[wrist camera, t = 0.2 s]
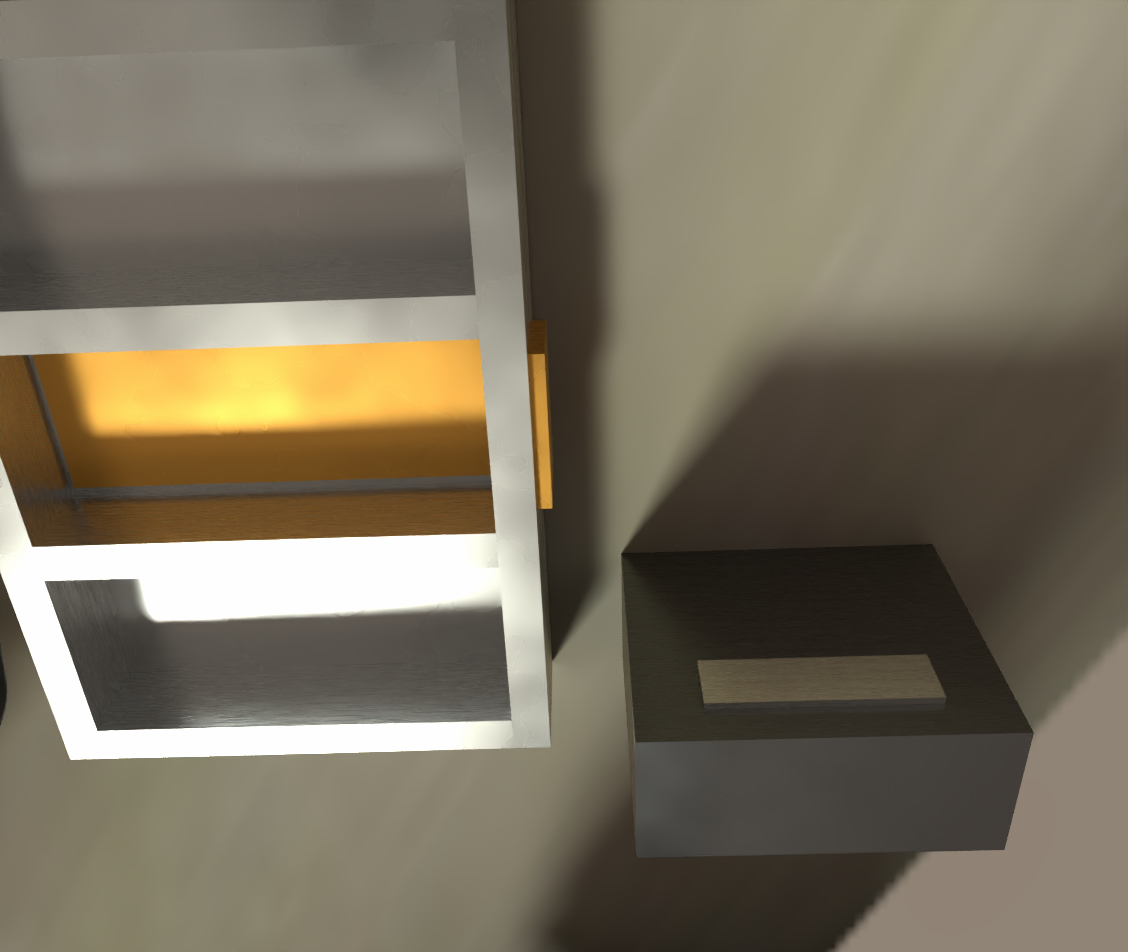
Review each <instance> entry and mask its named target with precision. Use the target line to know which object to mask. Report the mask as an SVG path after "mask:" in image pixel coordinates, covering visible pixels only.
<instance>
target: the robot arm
mask: <svg viewBox="0 0 1128 952" xmlns="http://www.w3.org/2000/svg"><path fill="white" fill-rule="evenodd" d="M6 703H7V682H6V676H5V669H4V663H3V657H2V651H1V644H0V725H1V722H2V720H3V716H4V713H5V709H6Z"/></svg>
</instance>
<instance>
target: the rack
mask: <svg viewBox="0 0 1128 952" xmlns="http://www.w3.org/2000/svg"><path fill="white" fill-rule="evenodd" d="M553 468H554V467H553V447H552V427H551V406H550V386H549V366H548V346H547V326H546V320H533V311H532V293H531V276H530V258H529V240H528V222H527V205H526V187H525V169H524V152H523V134H522V116H521V98H520V81H519V63H518V45H517V28H516V10H515V0H0V573H1V575H2V578H3V581H4V583H5V586H6V589H7V591H8V594H9V597H10V599H11V602H12V605H13V607H14V610H15V613H16V615H17V618H18V621H19V623H20V626H21V629H22V631H23V634H24V637H25V639H26V642H27V645H28V647H29V650H30V653H31V655H32V658H33V660H34V663H35V666H36V668H37V671H38V674H39V676H40V679H41V682H42V684H43V687H44V690H45V692H46V695H47V698H48V700H49V703H50V706H51V708H52V711H53V714H54V716H55V719H56V722H57V724H58V727H59V730H60V732H61V735H62V738H63V740H64V743H65V746H66V748H67V751H68V754H69V756H70V759H99V758H139V757H179V756H218V755H258V754H298V753H337V752H377V751H416V750H456V749H496V748H535V747H551V705H552V648H551V630H550V612H549V594H548V577H547V559H546V541H545V524H544V509H549V508H552V507H553Z"/></svg>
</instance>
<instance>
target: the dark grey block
mask: <svg viewBox="0 0 1128 952" xmlns="http://www.w3.org/2000/svg"><path fill="white" fill-rule="evenodd" d="M621 566H622V642H623V669H624V684H625V698H626V713H627V728H628V743H629V758H630V773H631V788H632V803H633V817H634V832H635V847H636V858H658V857H703V856H748V855H793V854H838V853H883V852H928V851H972V850H1004V849H1005V845H1006V841H1007V837H1008V833H1009V829H1010V825H1011V821H1012V817H1013V813H1014V809H1015V805H1016V801H1017V797H1018V793H1019V789H1020V785H1021V781H1022V777H1023V773H1024V769H1025V765H1026V761H1027V757H1028V753H1029V749H1030V746H1031V742H1032V738H1033V734H1034V732H1033V731H1032V729H1031V727H1030V725H1029V723H1028V721H1027V719H1026V718H1025V716H1024V714H1023V712H1022V710H1021V708H1020V706H1019V705H1018V703H1017V701H1016V699H1015V697H1014V695H1013V693H1012V692H1011V690H1010V688H1009V686H1008V684H1007V682H1006V680H1005V679H1004V677H1003V675H1002V673H1001V671H1000V669H999V667H998V665H997V664H996V662H995V660H994V658H993V656H992V654H991V652H990V651H989V649H988V647H987V645H986V643H985V641H984V639H983V638H982V636H981V634H980V632H979V630H978V628H977V626H976V625H975V623H974V621H973V619H972V617H971V615H970V613H969V612H968V610H967V608H966V606H965V604H964V602H963V600H962V599H961V597H960V595H959V593H958V591H957V589H956V587H955V585H954V584H953V582H952V580H951V578H950V576H949V574H948V572H947V571H946V569H945V567H944V565H943V563H942V561H941V559H940V558H939V556H938V554H937V552H936V550H935V548H934V546H933V545H932V544H927V545H893V546H859V547H825V548H791V549H757V550H723V551H689V552H655V553H621Z"/></svg>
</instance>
